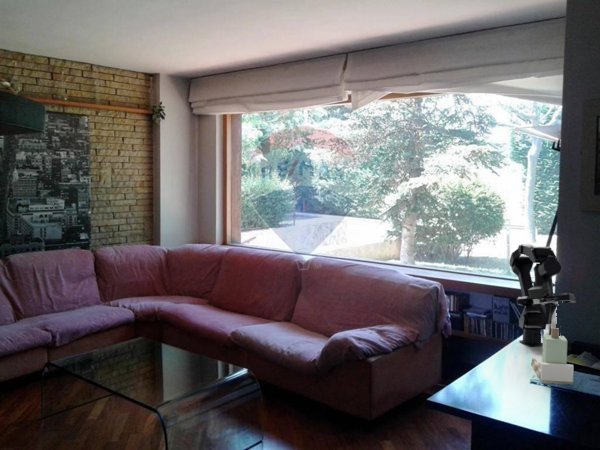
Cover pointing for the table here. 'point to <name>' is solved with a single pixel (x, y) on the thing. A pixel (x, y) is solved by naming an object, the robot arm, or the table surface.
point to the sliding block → (554, 348)
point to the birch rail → (537, 369)
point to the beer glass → (551, 323)
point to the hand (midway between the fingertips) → (547, 324)
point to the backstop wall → (557, 372)
